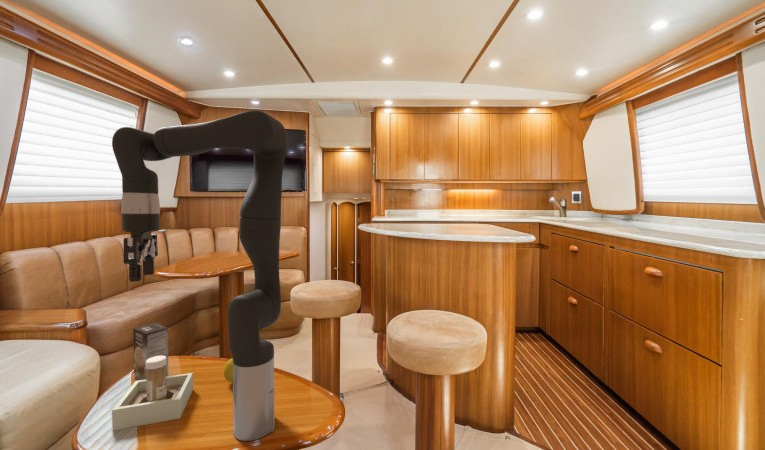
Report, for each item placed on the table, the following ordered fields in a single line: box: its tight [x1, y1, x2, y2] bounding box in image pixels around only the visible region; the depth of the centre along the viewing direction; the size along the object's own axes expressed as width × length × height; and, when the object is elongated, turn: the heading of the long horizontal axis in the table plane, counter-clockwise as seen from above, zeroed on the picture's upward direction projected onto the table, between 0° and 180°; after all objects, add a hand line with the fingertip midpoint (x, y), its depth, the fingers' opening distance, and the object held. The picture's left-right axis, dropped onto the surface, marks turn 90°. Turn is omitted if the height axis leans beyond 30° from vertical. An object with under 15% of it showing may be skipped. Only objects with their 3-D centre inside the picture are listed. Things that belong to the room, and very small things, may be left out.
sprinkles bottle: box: [145, 355, 167, 402], centre depth 84 cm, size 5×5×14 cm
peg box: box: [111, 372, 194, 431], centre depth 84 cm, size 14×14×5 cm
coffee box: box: [132, 321, 169, 381], centre depth 100 cm, size 9×6×16 cm
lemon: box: [223, 357, 233, 384], centre depth 97 cm, size 6×6×8 cm
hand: (142, 277), depth 78 cm, fingers open, 8 cm apart
